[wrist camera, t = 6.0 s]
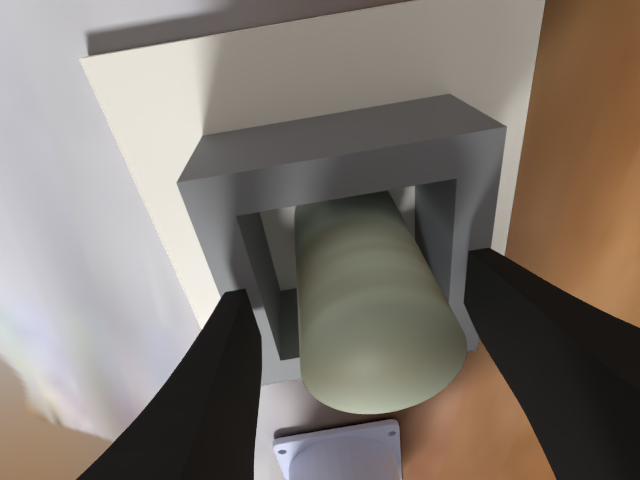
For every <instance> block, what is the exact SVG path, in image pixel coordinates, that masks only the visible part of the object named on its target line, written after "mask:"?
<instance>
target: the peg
mask: <svg viewBox="0 0 640 480" xmlns="http://www.w3.org/2000/svg"><path fill="white" fill-rule="evenodd" d="M294 230H295V254H296V279H297V303H298V327H299V352H300V372H301V378H302V380H303V383H304V385H305V387H306V388H307V390H308V391H309V392H310V393H311V395H312V396H313V397H315V398H316V399H317V400H318V401H320V402H322V403H323V404H325V405H327V406H329V407H331V408H334V409H337V410H340V411H344V412H349V413H356V414H381V413H388V412H393V411H398V410H402V409H405V408H409V407H411V406H414V405H417V404H419V403H421V402H423V401H425V400H427V399H429V398H431V397H433V396H434V395H436V394H437V393H439V392H440V391H441V390H443V389H444V388H445V387H446V386H447V385H449V383H450V382H451V381H452V380H453V379H454V378H455V377H456V376H457V374H458V373H459V371H460V370H461V368H462V366H463V364H464V361H465V359H466V354H467V341H466V336H465V334H464V332H463V329H462V327H461V326H460V324H459V322H458V320H457V318H456V316H455V314H454V313H453V311H452V309H451V307H450V305H449V303H448V301H447V299H446V298H445V296H444V294H443V292H442V290H441V288H440V286H439V284H438V283H437V281H436V279H435V277H434V275H433V273H432V271H431V269H430V268H429V266H428V264H427V262H426V260H425V258H424V256H423V255H422V253H421V251H420V249H419V247H418V245H417V243H416V241H415V240H414V238H413V236H412V234H411V232H410V230H409V228H408V226H407V225H406V223H405V221H404V219H403V217H402V215H401V213H400V211H399V210H398V208H397V206H396V204H395V202H394V200H393V198H392V197H391V195H390V193H389V192H388V190H386V191H380V192H374V193H369V194H363V195H357V196H351V197H345V198H339V199H333V200H327V201H321V202H315V203H309V204H304V205H298V206H297V207H296V210H295V215H294Z"/></svg>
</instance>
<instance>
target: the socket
mask: <svg viewBox="0 0 640 480" xmlns="http://www.w3.org/2000/svg"><path fill="white" fill-rule="evenodd" d="M544 5H545V0H413V1H407V2H401V3H395V4H390V5H384V6H378V7H372V8H366V9H360V10H354V11H349V12H343V13H337V14H331V15H325V16H319V17H314V18H308V19H302V20H296V21H290V22H284V23H278V24H273V25H267V26H261V27H255V28H249V29H243V30H237V31H232V32H226V33H220V34H214V35H208V36H202V37H197V38H191V39H185V40H179V41H173V42H167V43H161V44H156V45H150V46H144V47H138V48H132V49H126V50H121V51H115V52H109V53H103V54H97V55H91V56H86V57H83V58H80V59H79V60H80V62H81V64H82V67H83V69H84V71H85V73H86V75H87V78H88V80H89V82H90V84H91V87H92V89H93V91H94V93H95V95H96V98H97V100H98V102H99V104H100V106H101V109H102V111H103V113H104V115H105V117H106V120H107V122H108V124H109V126H110V128H111V131H112V133H113V135H114V137H115V140H116V142H117V144H118V146H119V148H120V151H121V153H122V155H123V157H124V159H125V162H126V164H127V166H128V168H129V170H130V173H131V175H132V177H133V179H134V181H135V184H136V186H137V188H138V190H139V193H140V195H141V197H142V199H143V201H144V204H145V206H146V208H147V210H148V212H149V215H150V217H151V219H152V221H153V223H154V226H155V228H156V230H157V232H158V234H159V237H160V239H161V241H162V243H163V246H164V248H165V250H166V252H167V254H168V257H169V259H170V261H171V263H172V265H173V268H174V270H175V272H176V274H177V276H178V279H179V281H180V283H181V285H182V287H183V290H184V292H185V294H186V296H187V299H188V301H189V303H190V305H191V307H192V310H193V312H194V314H195V316H196V318H197V321H198V323H199V325H200V327H201V329H203V327H204V326H205V324H206V322H207V321H208V319H209V317H210V316H211V314H212V312H213V311H214V309H215V307H216V306H217V304H218V302H219V300H220V299H221V297H222V295H223V294H224V293H225V292H228V291H234V290H240V289H246V291H247V294H248V297H249V300H250V303H251V306H252V309H253V312H254V315H255V318H256V321H257V324H258V327H259V330H260V333H261V336H262V377H261V386H264V385H270V384H276V383H281V382H287V381H293V380H299V379H302V378H301V372H300V352H299V327H298V303H297V279H296V254H295V230H294V215H295V210H296V207H297V206H298V205H304V204H309V203H315V202H321V201H327V200H333V199H339V198H345V197H351V196H357V195H363V194H369V193H374V192H380V191H386V190H388V192H389V193H390V195H391V197H392V198H393V200H394V202H395V204H396V206H397V208H398V210H399V211H400V213H401V215H402V217H403V219H404V221H405V223H406V225H407V226H408V228H409V230H410V232H411V234H412V236H413V238H414V240H415V241H416V243H417V245H418V247H419V249H420V251H421V253H422V255H423V256H424V258H425V260H426V262H427V264H428V266H429V268H430V269H431V271H432V273H433V275H434V277H435V279H436V281H437V283H438V284H439V286H440V288H441V290H442V292H443V294H444V296H445V298H446V299H447V301H448V303H449V305H450V307H451V309H452V311H453V313H454V314H455V316H456V318H457V320H458V322H459V324H460V326H461V327H462V329H463V332H464V334H465V336H466V341H467V351H472V350H477V349H478V341H479V336H478V334H477V332H476V330H475V328H474V326H473V324H472V321H471V319H470V317H469V315H468V312H467V310H466V308H465V305H464V303H463V302H464V292H465V281H466V270H467V259H468V251H471V250H477V249H483V248H491V249H493V250H495V251H496V252H498V253H500V254H502V255H503V256H504V255H505V249H506V243H507V237H508V230H509V224H510V218H511V212H512V205H513V199H514V193H515V187H516V180H517V174H518V168H519V162H520V155H521V149H522V143H523V137H524V130H525V124H526V118H527V112H528V105H529V99H530V93H531V87H532V80H533V74H534V68H535V62H536V55H537V49H538V43H539V37H540V30H541V24H542V18H543V12H544Z"/></svg>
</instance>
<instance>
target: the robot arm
mask: <svg viewBox="0 0 640 480" xmlns="http://www.w3.org/2000/svg"><path fill="white" fill-rule="evenodd" d="M463 303H464V305H465V308H466V310H467V312H468V315H469V317H470V319H471V321H472V324H473V326H474V328H475V330H476V332H477V334H478V336H479V338H480V339H481V341H482V343H483V344H484V346H485V348H486V349H487V351H488V353H489V354H490V356H491V357H492V359H493V361H494V362H495V364H496V366H497V367H498V369H499V371H500V372H501V374H502V375H503V377H504V379H505V380H506V382H507V384H508V385H509V387H510V388H511V390H512V392H513V393H514V395H515V397H516V398H517V400H518V402H519V403H520V405H521V407H522V409H523V411H524V412H525V414H526V416H527V418H528V420H529V422H530V424H531V426H532V428H533V430H534V432H535V434H536V436H537V438H538V440H539V443H540V445H541V447H542V449H543V451H544V453H545V455H546V457H547V459H548V462H549V464H550V466H551V468H552V470H553V472H554V475H555V477H556V479H557V480H640V328H639V327H636V326H634V325H632V324H630V323H627V322H625V321H623V320H620V319H618V318H616V317H614V316H612V315H610V314H608V313H605V312H603V311H601V310H599V309H597V308H595V307H593V306H591V305H590V304H588V303H586V302H584V301H582V300H580V299H578V298H576V297H574V296H572V295H570V294H568V293H567V292H565V291H563V290H561V289H559V288H558V287H556V286H554V285H552V284H550V283H549V282H547V281H545V280H544V279H542V278H540V277H538V276H537V275H535V274H533V273H532V272H530V271H528V270H527V269H525V268H523V267H522V266H520V265H518V264H517V263H515V262H513V261H512V260H510V259H508V258H507V257H505V256H503V255H502V254H500V253H498V252H496V251H495V250H493V249H491V248H483V249H477V250H471V251H468V259H467V270H466V281H465V292H464V302H463ZM261 377H262V336H261V333H260V330H259V327H258V324H257V321H256V318H255V315H254V312H253V309H252V306H251V303H250V300H249V297H248V294H247V291H246V289H240V290H234V291H228V292H225V293H224V294H223V295H222V297H221V299H220V300H219V302H218V304H217V306H216V307H215V309H214V311H213V312H212V314H211V316H210V317H209V319H208V321H207V322H206V324H205V326H204V327H203V329H202V330H201V332H200V333H199V335H198V337H197V338H196V340H195V341H194V343H193V344H192V346H191V347H190V349H189V350H188V352H187V353H186V355H185V356H184V358H183V359H182V361H181V362H180V363H179V365H178V366H177V367H176V369H175V370H174V372H173V373H172V374H171V376H170V377H169V379H168V380H167V381H166V383H165V384H164V385H163V386H162V388H161V389H160V390H159V392H158V393H157V394H156V395H155V397H154V398H153V399H152V400H151V401H150V403H149V404H148V405H147V406H146V407H145V409H144V410H143V411H142V412H141V413H140V415H139V416H138V417H137V418H136V419H135V420H134V421H133V422H132V423H131V425H130V426H129V427H128V428H127V429H126V430H125V431H124V432H123V433H122V434H121V435H120V436H119V437H118V438H117V439H116V440H115V441H114V443H113V444H112V445H111V446H110V447H109V448H108V449H107V450H106V451H105V452H104V453H103V454H102V455H101V456H100V457H99V458H98V459H97V460H96V461H95V462H94V463H93V464H92V465H91V466H90V467H89V468H88V469H87V470H86V471H85V472H84V473H83V474H81V475H80V476H79V477H78V478H77V479H76V480H254V450H255V438H256V428H257V418H258V408H259V398H260V388H261ZM273 450H274V453H275V455H276V458H277V460H278V463H279V465H280V467H281V470H282V472H283V475H284V477H285V480H402V473H401V451H400V430H399V424H398V421H396V420H394V419H389V420H383V421H377V422H371V423H365V424H359V425H353V426H347V427H341V428H335V429H329V430H323V431H317V432H311V433H305V434H299V435H293V436H287V437H281V438H277V439H275V440H274V441H273Z"/></svg>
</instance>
